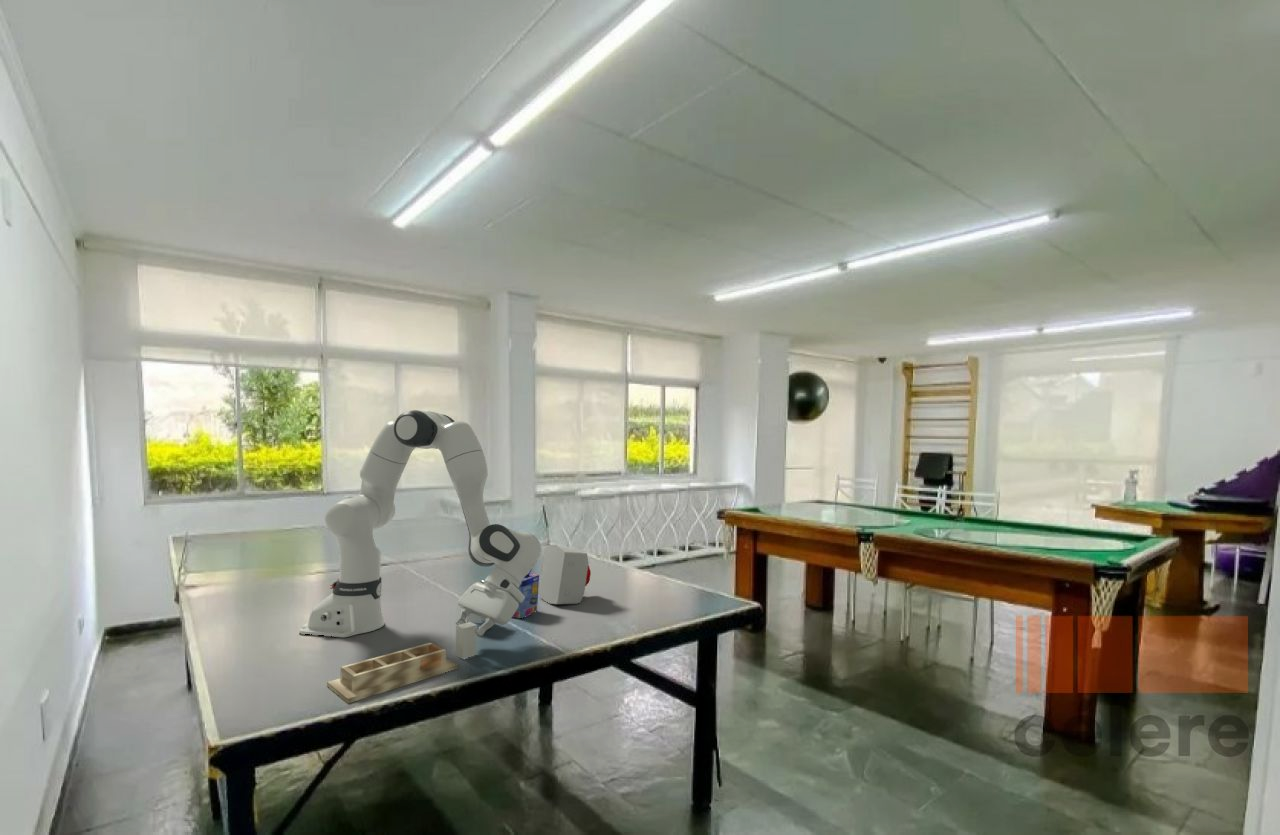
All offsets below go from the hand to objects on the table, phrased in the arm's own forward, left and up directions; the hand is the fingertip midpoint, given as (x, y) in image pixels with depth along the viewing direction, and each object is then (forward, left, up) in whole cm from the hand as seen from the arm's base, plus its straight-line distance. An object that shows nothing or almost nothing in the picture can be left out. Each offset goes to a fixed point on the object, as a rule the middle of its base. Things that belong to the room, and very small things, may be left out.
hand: (468, 629), depth 152 cm
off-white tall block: (0, 0, -7) cm, 7 cm away
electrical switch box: (+22, +52, -7) cm, 57 cm away
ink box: (-2, +22, -7) cm, 23 cm away
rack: (-14, -14, -7) cm, 20 cm away
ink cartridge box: (+9, +35, -7) cm, 37 cm away
